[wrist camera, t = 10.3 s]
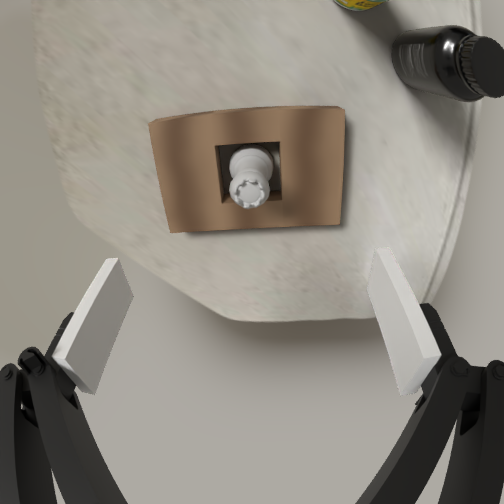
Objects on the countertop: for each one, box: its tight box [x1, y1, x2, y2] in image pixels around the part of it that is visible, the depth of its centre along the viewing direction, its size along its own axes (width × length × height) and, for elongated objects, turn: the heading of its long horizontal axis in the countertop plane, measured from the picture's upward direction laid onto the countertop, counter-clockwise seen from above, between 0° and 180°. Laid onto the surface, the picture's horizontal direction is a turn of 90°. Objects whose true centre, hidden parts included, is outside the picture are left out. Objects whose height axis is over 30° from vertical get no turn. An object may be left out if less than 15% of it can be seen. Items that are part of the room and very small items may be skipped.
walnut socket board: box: [148, 106, 345, 233], centre depth 29 cm, size 18×12×2 cm, turn 94°
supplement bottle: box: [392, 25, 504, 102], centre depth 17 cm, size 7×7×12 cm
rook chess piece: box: [229, 144, 274, 209], centre depth 26 cm, size 4×4×8 cm
